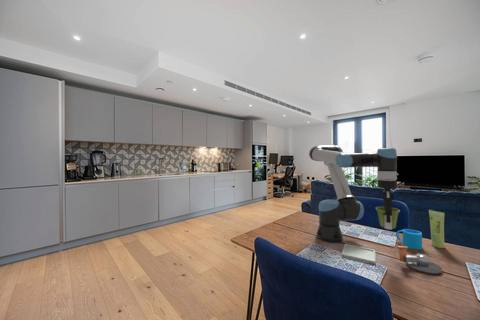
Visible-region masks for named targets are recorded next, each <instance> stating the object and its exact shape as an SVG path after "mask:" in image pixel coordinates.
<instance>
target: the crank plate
mask: <svg viewBox="0 0 480 320" xmlns="http://www.w3.org/2000/svg"><path fill="white" fill-rule="evenodd" d="M404 263H405V265H406V266H407V267H409V268H410V269H412V270H414V271H416V272H420V273H423V274H427V275H435V276H438V274H439V275H441V274H442V273H443V271H442V270H443V269H442V267H441V266H440V265H438V264H437V263H435V262H433V261H430V260H429V266H422V265H419V264H417V263H416V262H404Z"/></svg>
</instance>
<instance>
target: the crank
mask: <svg viewBox="0 0 480 320" xmlns="http://www.w3.org/2000/svg"><path fill="white" fill-rule="evenodd" d="M396 248H397V249H399V251H398V254H399V261H401V262H403V263H405V262H416V263H417V264H419V265H422V266H429V261H430V256H429V255H426V254H424V253H420V252H419V253H415V255H408V254H407V250H409V248H408V247H407V246H404V245H403V246H401V245H397V246H396Z"/></svg>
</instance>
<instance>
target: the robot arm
mask: <svg viewBox="0 0 480 320" xmlns="http://www.w3.org/2000/svg"><path fill="white" fill-rule="evenodd" d="M308 156H309V158H310V160H312V161H315V162H323V163H324V166H326V167H327V169H328V172H329V175H330V178H331V181H332V182H331V183H332V185H333V188H334V191H335V194H336V199H324V200H321V201H319V203H318V223H319V224H318V227H317V230H316V238H317V239H318V240H320V241H322V242H327V243H333V244H334V243H336V244H337V243H342V242H343V241H344V234H343V232H342V230H341V226H340V222H343V221H345V222H346V221H347V222H348V221H357V220H361V219H362V218H363V216H364V214H365V213H364V212H365V208H364V205H363V204H362V203H361V201H359V200H357V198H356V197H355V196H354V195H353V194H352V192H351V189H350V187H349V184H348V180H347V178H346V175H345V173H344V169H347V168H377V172H376V173H377V179H378V180H377V188H381V189H383V190H381V194H382V199H383V206H382V207H385V214H384V213H383V215H385V228H384V229H386V230H391V231H392V230H393V229H392V208H393V205H392V202H393V196H394V195H393V193H394V192H393V191H391V189H393V190H394V189H395V190H396V189H397V188H398V181H397V180H398V177H397V176H399V173H398V172H397V171H398V170H397V169H398V167H397V165H398V155H397V149H396V148H394V147H386V148H385V147H384V148H383V147H382V148H378V149H377V152H359V153H358V152H357V153H356V152H355V153H354V152H353V153H352V152H350V153H349V152H344V151H343V149H342V148H341V147H340V146H339V145H333V144H330V145H316V146H313V147H311V148H310V150H309V153H308ZM389 212H390V213H389Z"/></svg>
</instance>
